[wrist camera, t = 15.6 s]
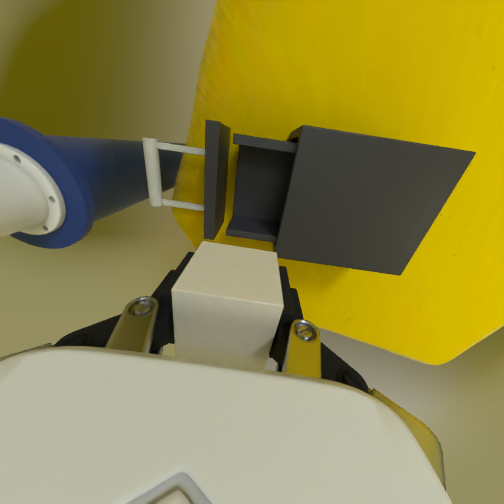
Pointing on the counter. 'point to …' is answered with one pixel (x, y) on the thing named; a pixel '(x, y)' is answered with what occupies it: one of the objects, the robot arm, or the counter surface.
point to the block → (227, 305)
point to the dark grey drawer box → (363, 198)
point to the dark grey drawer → (247, 181)
